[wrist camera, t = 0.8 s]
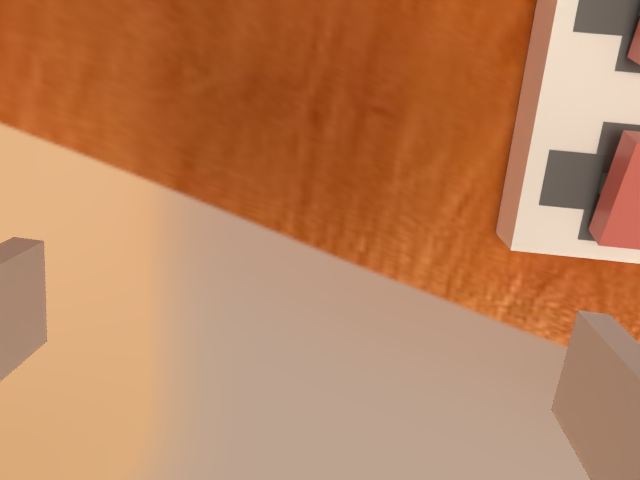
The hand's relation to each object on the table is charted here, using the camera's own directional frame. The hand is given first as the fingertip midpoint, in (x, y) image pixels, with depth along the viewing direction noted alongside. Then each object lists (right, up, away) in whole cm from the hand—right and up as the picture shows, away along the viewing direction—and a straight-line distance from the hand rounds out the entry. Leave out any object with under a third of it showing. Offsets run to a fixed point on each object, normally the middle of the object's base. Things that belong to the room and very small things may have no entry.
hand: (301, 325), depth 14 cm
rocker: (+18, +5, +16) cm, 25 cm away
